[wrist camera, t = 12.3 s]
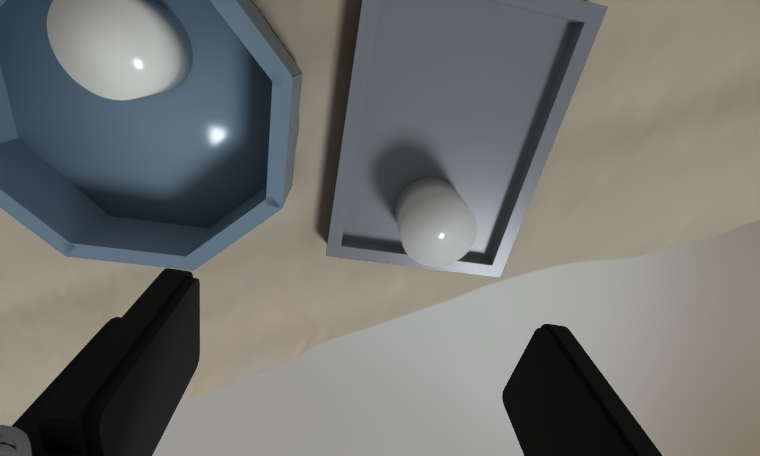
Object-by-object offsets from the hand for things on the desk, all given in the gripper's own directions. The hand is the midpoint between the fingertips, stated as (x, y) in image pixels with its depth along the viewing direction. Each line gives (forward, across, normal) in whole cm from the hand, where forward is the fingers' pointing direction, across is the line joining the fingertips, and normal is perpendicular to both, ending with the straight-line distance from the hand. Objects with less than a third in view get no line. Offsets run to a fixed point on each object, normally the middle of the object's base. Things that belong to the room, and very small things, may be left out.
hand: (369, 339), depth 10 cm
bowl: (+17, +14, -1) cm, 22 cm away
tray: (+18, -5, -2) cm, 19 cm away
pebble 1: (+17, +14, -4) cm, 22 cm away
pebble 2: (+17, -5, +2) cm, 18 cm away
